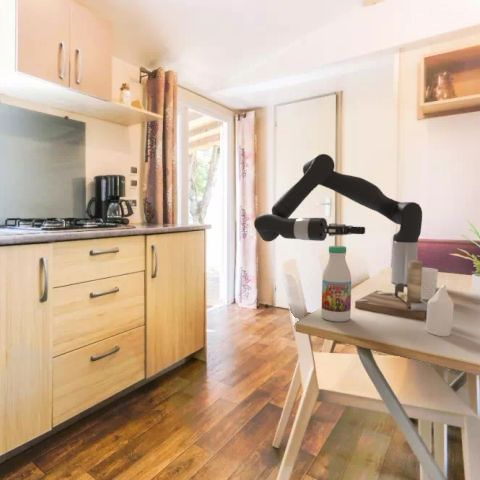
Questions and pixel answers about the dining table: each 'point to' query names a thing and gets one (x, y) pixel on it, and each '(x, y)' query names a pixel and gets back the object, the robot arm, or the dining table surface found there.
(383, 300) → the stool seat
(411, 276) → the hinged leg
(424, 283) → the white cup
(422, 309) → the corner bracket
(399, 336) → the dining table surface
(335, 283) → the milk bottle
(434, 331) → the white pointed cylinder
